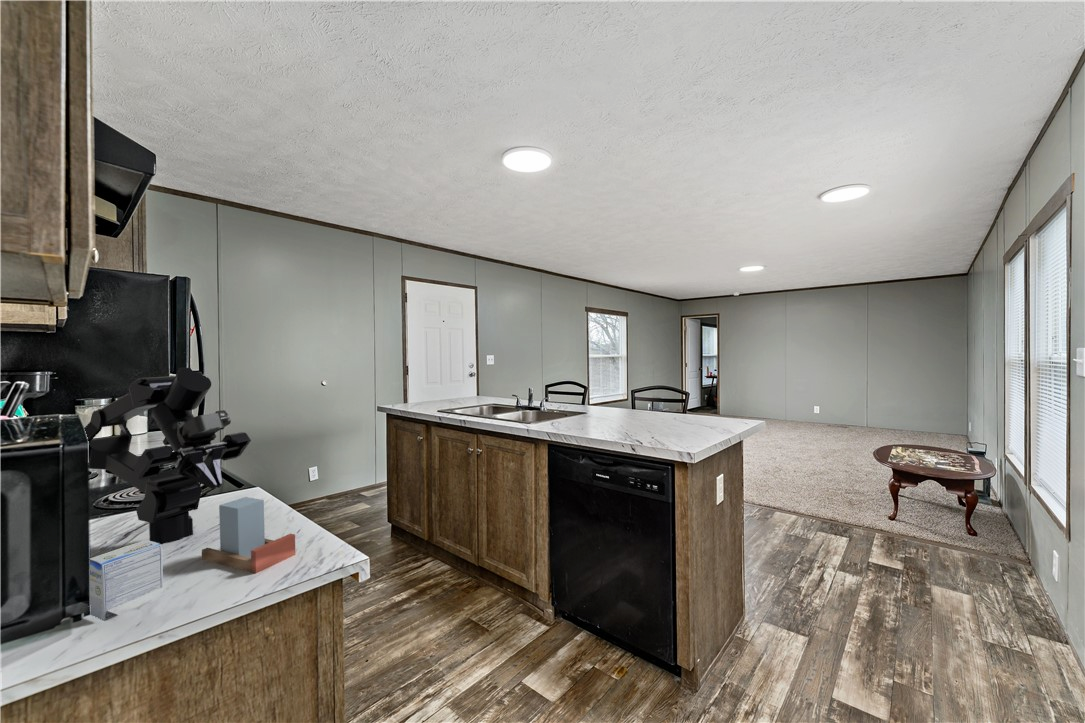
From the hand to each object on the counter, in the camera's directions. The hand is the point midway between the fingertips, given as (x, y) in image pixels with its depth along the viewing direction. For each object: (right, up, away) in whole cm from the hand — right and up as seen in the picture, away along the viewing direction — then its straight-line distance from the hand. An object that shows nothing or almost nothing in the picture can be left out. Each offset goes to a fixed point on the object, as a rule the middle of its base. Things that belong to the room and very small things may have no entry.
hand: (217, 486), depth 89 cm
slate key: (+6, -12, -2) cm, 14 cm away
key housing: (+8, -14, -3) cm, 16 cm away
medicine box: (-3, -14, -16) cm, 22 cm away
